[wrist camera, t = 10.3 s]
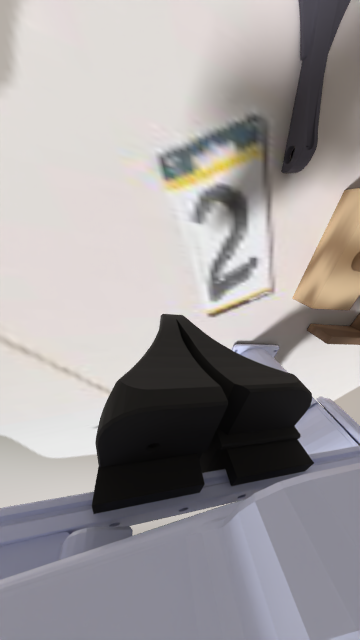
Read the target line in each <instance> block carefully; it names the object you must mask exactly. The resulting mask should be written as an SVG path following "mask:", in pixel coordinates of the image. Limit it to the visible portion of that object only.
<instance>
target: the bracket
mask: <svg viewBox="0 0 360 640" xmlns="http://www.w3.org/2000/svg"><path fill="white" fill-rule="evenodd" d="M350 1H351V0H299V8H300V35H301V38H300V59H301V60H302V66H301V72H300V77H299V82H298V88H297V93H296V98H295V103H294V108H293V114H292V119H291V124H290V129H289V135H288V140H287V145H286V150H285V156H284V161H283V166H282V171H281V172H283V173H296V172H299V171H301V170H302V169H304V167H305V166H306V165H307V164H308V163H309V161H310V160H311V158H312V156H313V154H314V152H315V150H316V147H317V141H318V122H319V113H320V104H321V95H322V86H323V78H324V73H325V67H326V62H327V56H328V52H329V50H330V47H331V45H332V42H333V40H334V37H335V34H336V32H337V29H338V27H339V24H340V22H341V20H342V17H343V15H344V13H345V11H346V9H347V7H348V5H349V3H350ZM294 148H295V150H294V152H293V154H292V160H291V161H290V155H291V153H292V150H293V149H294Z"/></svg>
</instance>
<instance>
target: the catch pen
mask: <svg viewBox="0 0 360 640" xmlns="http://www.w3.org/2000/svg"><path fill="white" fill-rule="evenodd" d="M307 331H309V332H310V333H312V334H313V335H315V336H316V337H318V338H319V339H321V340H322V341H324V342H325V343H327V344H354V345H360V314H359V315H358V317H357V318H356V319H355V321H354V322H353V323H352V325H351V326H339V325H322V324H310V326H309V328H308V329H307Z"/></svg>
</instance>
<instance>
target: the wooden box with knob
mask: <svg viewBox="0 0 360 640" xmlns="http://www.w3.org/2000/svg"><path fill="white" fill-rule="evenodd" d="M359 295H360V188H356V189H350V190H345V191H344V193H343V195H342V197H341V199H340V201H339V203H338V205H337V207H336V209H335V211H334V213H333V215H332V217H331V219H330V222H329V224H328V226H327V228H326V230H325V232H324V234H323V236H322V238H321V240H320V242H319V244H318V246H317V248H316V250H315V252H314V255H313V257H312V259H311V261H310V263H309V265H308V267H307V269H306V271H305V273H304V275H303V277H302V279H301V281H300V283H299V286H298V288H297V290H296V292H295V294H294V296H293V299H295V300H297V301H299V302H300V303H302V304H304V305H306V306H308V307H310V308H314V309H333V310H350V308H351V307H352V305H353V304H354V302H355V301H356V299H357V298H358V297H359Z"/></svg>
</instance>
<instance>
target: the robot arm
mask: <svg viewBox="0 0 360 640" xmlns="http://www.w3.org/2000/svg"><path fill="white" fill-rule="evenodd" d="M278 350H279V346H278V345H258V344H236V345H234V347H233V349H232V350H230V349H228V348H227V347H225V346H223V345H221V344H220V343H218V342H217V341H215V340H214V339H212V338H211V337H209V336H208V335H206V334H205V333H204V332H202V331H201V330H200V329H199V328H197V327H196V326H195V325H194V324H193V323H191V322H190V321H189V320H188V319H187V318H186V317H184V316H183V315H171V314H162V315H161V319H160V327H159V331H158V334H157V336H156V338H155V340H154V342H153V343H152V345H151V347H150V348H149V349H148V351H147V352H146V353H145V355H144V356H143V357H142V358H141V359H140V360H139V362H138V363H137V364H136V365H135V366H134V367H133V368H132V369H131V370H130V371H128V372H127V373H126V374H125V375H124V376H123V377H121V378H120V379H119V380H118V381H117V382H116V384H115V386H114V388H113V390H112V392H111V394H110V396H109V398H108V400H107V402H106V404H105V407H104V409H103V412H102V415H101V418H100V422H99V426H98V431H97V436H96V449H97V456H98V463H99V468H98V474H97V479H96V485H95V490H94V492H90V493H84V494H79V495H73V496H67V497H61V498H56V499H50V500H44V501H38V502H33V503H27V504H21V505H15V506H10V507H4V508H0V640H360V446H359V445H360V426H359V425H358V424H357V423H356V422H355V421H354V420H353V419H352V418H351V417H350V416H349V415H348V414H347V413H346V412H345V411H344V410H342V409H341V408H340V407H339V406H338V405H337V404H336V403H335V402H333V401H332V400H331V399H327V398H323V397H319V398H317V400H318V402H319V403H320V404H321V405H322V406H323V407H324V408H323V407H322V406H321V405H320V404H319V403H318V402H317V401H316V400H315V399H314V398H313V397H312V393H311V392H310V391H309V390H308V389H307V388H306V387H305V386H304V384H303V383H302V382H301V381H300V380H299V379H298V378H297V377H296V376H295V375H293V374H290V373H288V372H287V371H286V370H285V369H284V368H283V367H282V366H281V365H280V364H279V363H278V362H277V361H276V360H275V359H274V357H275V355H276V353H277V352H278ZM329 414H330V415H331V416H332V417H333V418H334V419H333V418H332V417H331V416H330V415H329ZM357 443H358V444H359V445H358V444H357ZM232 502H234V503H232ZM228 503H231V504H228ZM224 504H228V505H225V506H221V507H218V508H215V509H212V510H209V511H206V512H203V513H200V514H197V515H194V516H191V517H188V518H185V519H182V520H179V521H176V522H173V523H170V524H167V525H164V526H161V527H158V528H155V529H152V530H149V531H146V532H143V533H140V534H137V535H134V536H132V529H131V527H130V526H131V525H136V524H140V523H144V522H149V521H153V520H158V519H162V518H166V517H171V516H175V515H180V514H184V513H189V512H193V511H197V510H201V509H206V508H210V507H215V506H219V505H224Z"/></svg>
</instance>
